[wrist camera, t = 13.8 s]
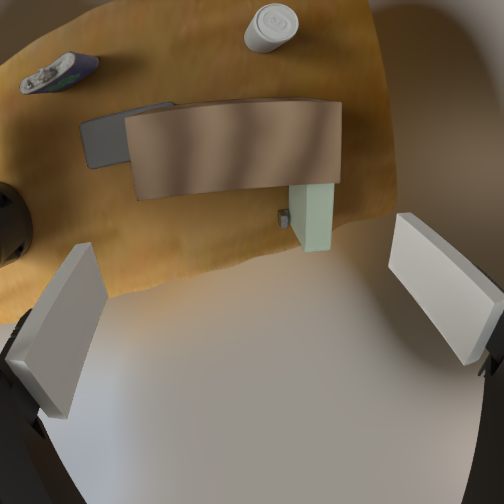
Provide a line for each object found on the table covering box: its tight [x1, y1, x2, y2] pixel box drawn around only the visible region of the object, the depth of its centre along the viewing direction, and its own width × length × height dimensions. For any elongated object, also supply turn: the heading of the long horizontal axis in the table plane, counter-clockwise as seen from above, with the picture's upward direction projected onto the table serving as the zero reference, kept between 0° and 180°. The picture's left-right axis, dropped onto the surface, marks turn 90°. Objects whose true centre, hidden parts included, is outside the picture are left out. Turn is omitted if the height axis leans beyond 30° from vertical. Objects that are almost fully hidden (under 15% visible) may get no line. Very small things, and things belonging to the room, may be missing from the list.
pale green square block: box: [289, 183, 334, 252], centre depth 44 cm, size 4×10×10 cm, turn 3°
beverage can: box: [244, 4, 299, 53], centre depth 31 cm, size 5×5×12 cm
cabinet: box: [125, 97, 342, 201], centre depth 37 cm, size 22×9×14 cm, turn 93°
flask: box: [19, 51, 99, 95], centre depth 31 cm, size 9×3×11 cm, turn 106°
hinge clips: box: [278, 209, 289, 228], centre depth 47 cm, size 7×10×2 cm
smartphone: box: [80, 102, 175, 169], centre depth 41 cm, size 8×1×15 cm
